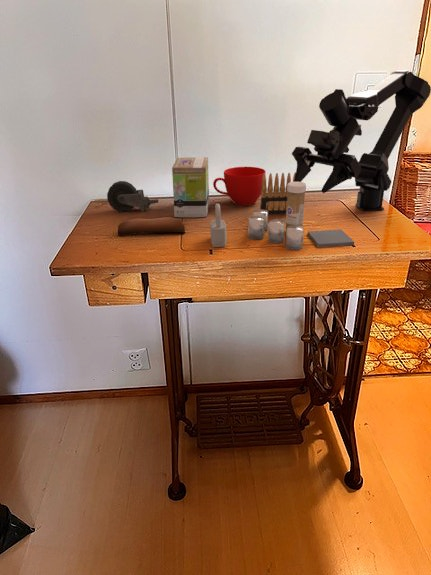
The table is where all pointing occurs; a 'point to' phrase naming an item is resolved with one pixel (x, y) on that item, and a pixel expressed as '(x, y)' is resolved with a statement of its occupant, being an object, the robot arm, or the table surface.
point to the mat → (330, 238)
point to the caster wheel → (127, 197)
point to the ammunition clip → (275, 194)
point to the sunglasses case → (151, 226)
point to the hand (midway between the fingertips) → (308, 188)
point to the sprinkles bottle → (295, 204)
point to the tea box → (190, 187)
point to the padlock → (218, 229)
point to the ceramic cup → (242, 184)
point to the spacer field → (275, 230)
